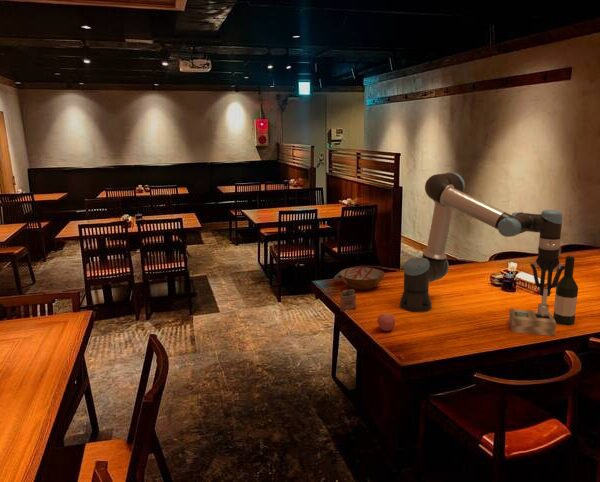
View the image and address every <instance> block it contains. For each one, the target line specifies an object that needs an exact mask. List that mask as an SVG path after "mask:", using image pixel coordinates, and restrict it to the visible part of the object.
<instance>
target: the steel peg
mask: <svg viewBox="0 0 600 482" xmlns="http://www.w3.org/2000/svg"><path fill="white" fill-rule="evenodd" d="M549 308H550V305H549V304H548V303H547V304H542V302H541V303H538V304H537V311H538V312H537V318H545V319H548V312H549Z"/></svg>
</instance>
